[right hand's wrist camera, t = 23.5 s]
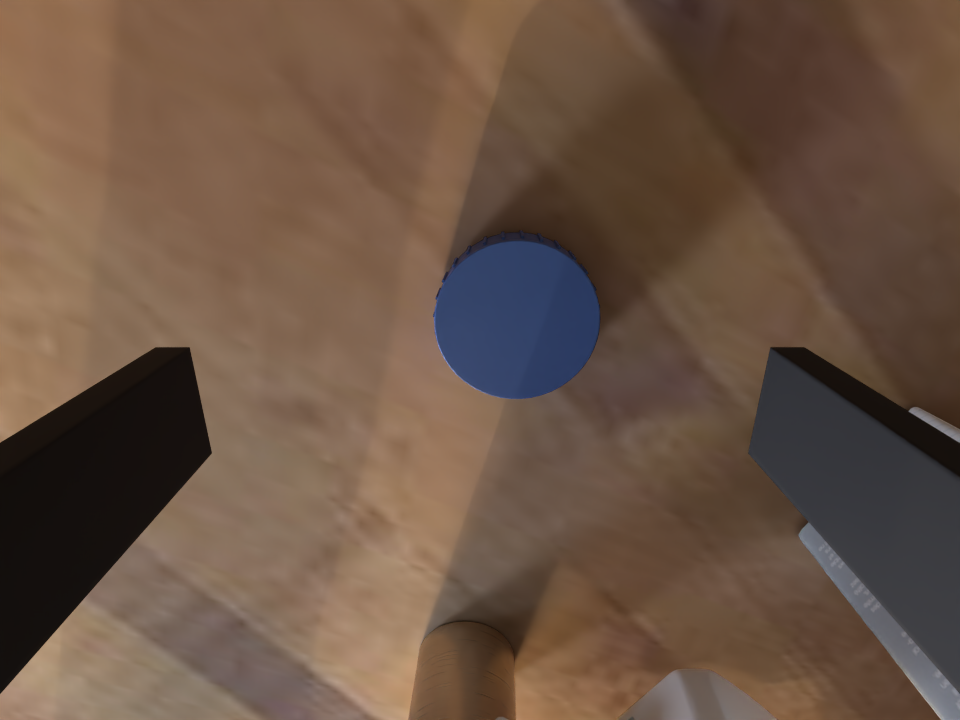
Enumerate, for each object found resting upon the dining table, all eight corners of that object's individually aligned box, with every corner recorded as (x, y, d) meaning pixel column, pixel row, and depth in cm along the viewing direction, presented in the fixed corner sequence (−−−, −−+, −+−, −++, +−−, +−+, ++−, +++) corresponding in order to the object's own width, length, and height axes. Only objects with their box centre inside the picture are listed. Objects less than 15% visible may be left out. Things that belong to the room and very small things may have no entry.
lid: (507, 407, 22) (508, 430, 20) (406, 303, 21) (397, 317, 19) (624, 315, 21) (636, 330, 19) (523, 195, 19) (525, 199, 17)
